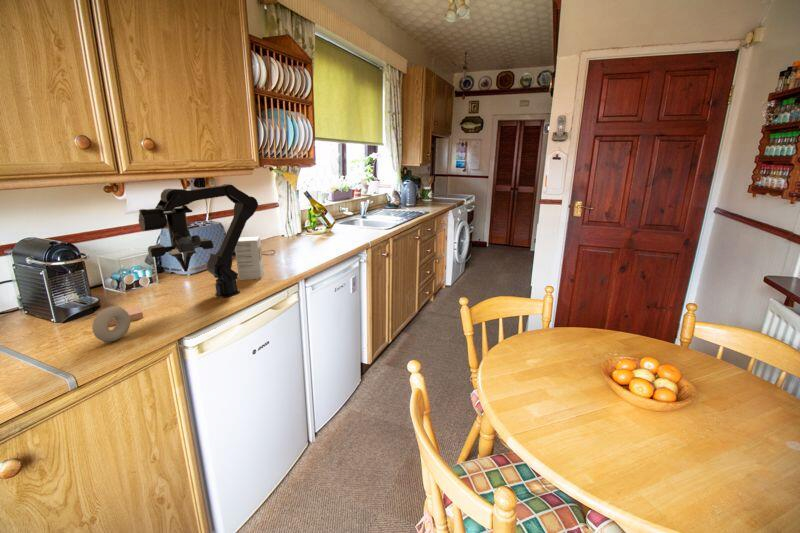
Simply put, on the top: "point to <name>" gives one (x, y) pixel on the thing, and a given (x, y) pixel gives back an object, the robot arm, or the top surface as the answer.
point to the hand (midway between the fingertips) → (185, 271)
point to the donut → (104, 318)
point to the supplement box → (249, 258)
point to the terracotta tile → (130, 314)
